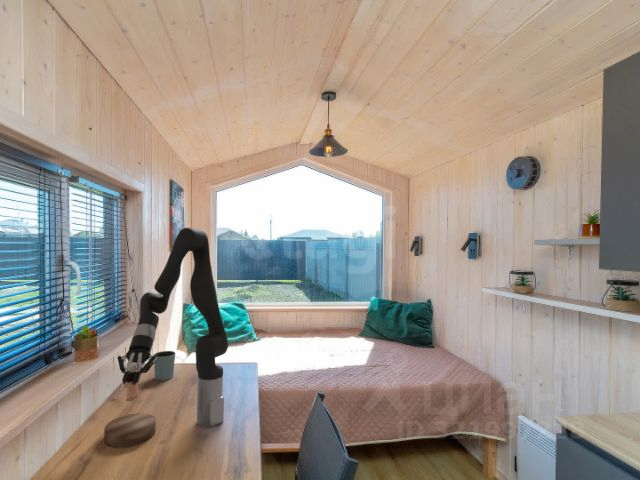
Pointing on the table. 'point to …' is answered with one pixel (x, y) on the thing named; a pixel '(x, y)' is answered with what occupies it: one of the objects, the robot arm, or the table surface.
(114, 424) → the walnut plinth
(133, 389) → the grandmother figurine
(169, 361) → the grey-green cup
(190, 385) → the table surface
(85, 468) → the table surface
